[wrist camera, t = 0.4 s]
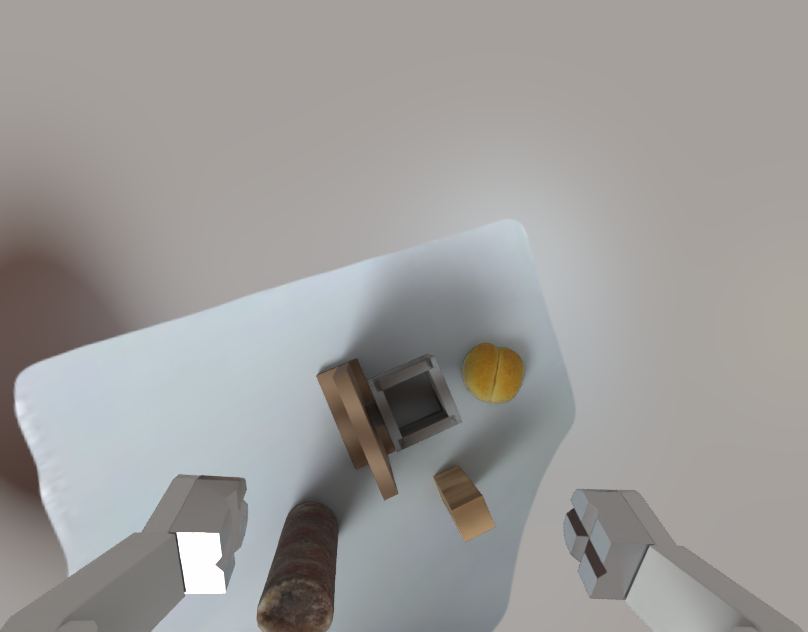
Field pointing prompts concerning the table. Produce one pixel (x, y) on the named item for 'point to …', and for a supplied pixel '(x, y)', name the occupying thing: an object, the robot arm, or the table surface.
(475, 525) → the wooden block
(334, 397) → the bracket
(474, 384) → the bread roll
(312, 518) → the brown rough cylinder
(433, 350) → the table surface
